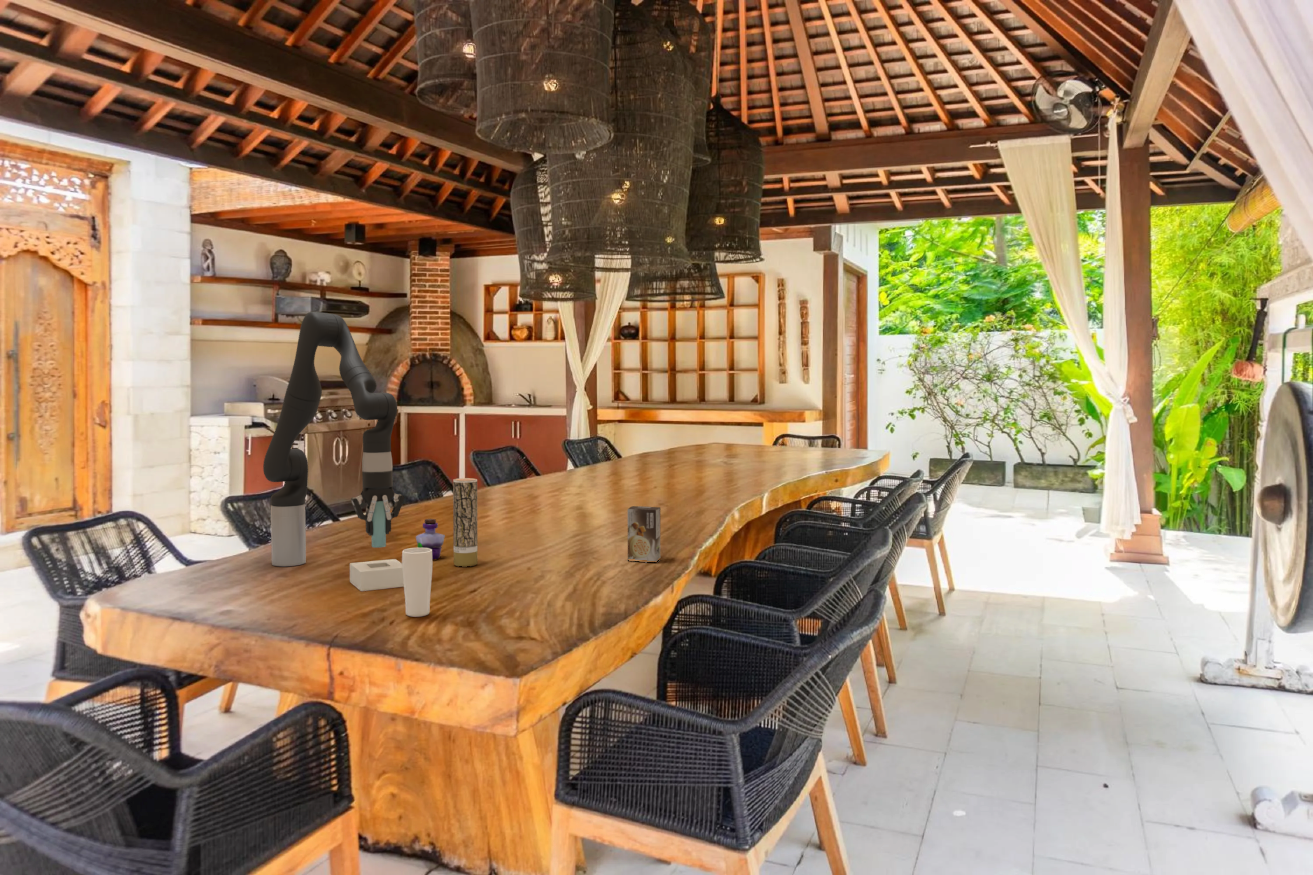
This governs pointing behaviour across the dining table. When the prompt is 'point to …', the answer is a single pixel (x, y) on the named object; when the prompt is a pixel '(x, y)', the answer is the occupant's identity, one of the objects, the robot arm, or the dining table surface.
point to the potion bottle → (431, 538)
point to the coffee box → (644, 533)
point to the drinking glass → (417, 580)
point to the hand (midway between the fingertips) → (378, 534)
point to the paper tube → (465, 521)
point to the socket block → (376, 574)
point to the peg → (379, 525)
